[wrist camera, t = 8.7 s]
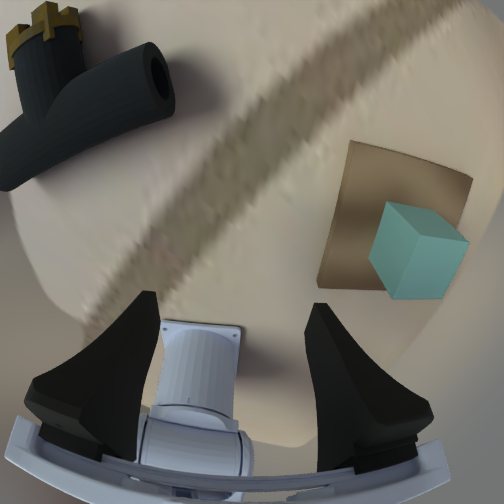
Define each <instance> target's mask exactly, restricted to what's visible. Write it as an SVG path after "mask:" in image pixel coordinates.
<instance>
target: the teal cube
mask: <svg viewBox="0 0 504 504" xmlns="http://www.w3.org/2000/svg"><path fill="white" fill-rule="evenodd" d="M469 243H470V242H469V241H467V240H466V239H465V238H464V237H463V236H462V235H461V234H460V233H459V232H458V231H457V230H456V229H455V228H454V227H453V226H451V225H450V224H449V223H448V222H447V221H446V220H445V219H444V218H442V217H441V216H440V215H439V214H438V213H437V212H435V211H433V210H428V209H424V208H419V207H414V206H409V205H404V204H398V203H393V202H386V205H385V208H384V212H383V215H382V218H381V222H380V225H379V228H378V231H377V234H376V237H375V240H374V243H373V246H372V249H371V252H370V255H369V257H368V259H369V260H370V262H371V264H372V265H373V267H374V269H375V270H376V272H377V274H378V276H379V277H380V279H381V281H382V282H383V284H384V286H385V288H386V290H387V291H388V293H389V295H390V297H391V299H442V297H443V296H444V294H445V292H446V290H447V288H448V286H449V285H450V283H451V281H452V279H453V277H454V275H455V273H456V271H457V269H458V267H459V265H460V263H461V261H462V259H463V256H464V254H465V252H466V250H467V248H468V245H469Z"/></svg>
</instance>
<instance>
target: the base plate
mask: <svg viewBox="0 0 504 504" xmlns="http://www.w3.org/2000/svg"><path fill="white" fill-rule="evenodd" d="M472 181H473V178H471V177H470V176H468V175H466V174H464V173H461V172H458V171H456V170H453V169H450V168H447V167H445V166H442V165H439V164H436V163H433V162H430V161H427V160H424V159H420V158H417V157H414V156H410V155H407V154H404V153H400V152H396V151H393V150H389V149H385V148H381V147H377V146H373V145H369V144H365V143H360V142H356V141H351V140H350V144H349V149H348V154H347V159H346V164H345V169H344V174H343V178H342V183H341V187H340V192H339V196H338V201H337V205H336V209H335V213H334V217H333V221H332V225H331V229H330V233H329V237H328V241H327V245H326V248H325V252H324V256H323V259H322V263H321V267H320V270H319V274H318V277H317V280H316V281H317V284H318V287H319V288H328V289H355V290H386V288H385V286H384V284H383V282H382V281H381V279H380V277H379V276H378V274H377V272H376V270H375V269H374V267H373V265H372V264H371V262H370V260H369V259H368V257H369V255H370V252H371V249H372V246H373V243H374V240H375V237H376V234H377V231H378V228H379V225H380V222H381V218H382V215H383V212H384V208H385V205H386V202H393V203H398V204H404V205H409V206H414V207H419V208H424V209H428V210H433V211H435V212H437V213H438V214H439V215H440V216H441V217H442V218H444V219H445V220H446V221H447V222H448V223H449V224H450V225H451V226H453V227H454V228H455V229H456V228H457V225H458V223H459V220H460V217H461V214H462V212H463V209H464V206H465V203H466V200H467V197H468V194H469V191H470V188H471V184H472Z"/></svg>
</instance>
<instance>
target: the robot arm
mask: <svg viewBox="0 0 504 504" xmlns="http://www.w3.org/2000/svg"><path fill="white" fill-rule="evenodd" d="M160 328H161V333H162V338H163V342H164V347H165V357H164V361H163V365H162V370H161V374H160V379H159V383H158V388H157V392H156V397H155V402H154V405H151V409H150V414H149V415H148V414H146V413H141V414H140V407H141V400H142V394H143V388H144V384H145V380H146V376H147V373H148V370H149V367H150V363H151V360H152V357H153V354H154V351H155V347H156V344H157V341H158V336H159V330H160ZM235 334H237V335H235ZM304 334H305V346H306V354H307V359H308V363H309V368H310V373H311V377H312V382H313V387H314V392H315V398H316V410H317V426H318V461H317V473H308V474H298V475H285V476H257V477H256V476H254V477H253V476H252V474H253V467H254V449H253V444H252V441H251V439H250V438H249V437H248V435H247V434H246V432H245V431H242V430H238V420H233V400H234V379H235V378H236V374H237V365H238V356H239V346H240V337H241V329H240V328H239V327H235V326H221V325H208V324H197V323H187V322H177V321H168V320H162V321H161V320H160V315H159V309H158V303H157V297H156V292H153V291H144V290H143V291H142V292H141V293H140V294H139V295H138V296H137V297H136V299H135V300H134V301H133V302H132V303H131V304H130V305H129V306H128V307H127V309H126V310H125V311H124V312H123V313H122V314H121V315H120V316H119V317H118V318H117V319H116V320H115V321H114V322H113V323H112V324H111V325H110V326H109V327H108V328H107V329H106V330H105V331H104V332H103V333H102V334H101V335H100V336H99V337H98V338H97V339H96V340H94V341H93V342H92V343H91V344H90V345H88V346H87V347H86V348H85V349H83V350H82V351H80V352H79V353H78V354H76V355H75V356H74V357H72V358H71V359H69V360H68V361H66V362H64V363H63V364H61V365H59V366H57V367H56V368H54V369H52V370H50V371H48V372H46V373H44V374H42V375H39V376H37V377H35V378H34V379H33V380H32V383H31V385H30V387H29V389H28V392H27V394H26V396H25V399H24V404H25V406H26V407H27V408H28V409H29V410H30V411H31V412H32V413H33V414H34V415H35V416H36V417H37V418H39V419H40V420H41V421H42V425H41V427H40V426H39V425H37V424H35V423H33V422H32V421H30V420H28V419H26V418H24V417H22V416H20V415H18V416H17V418H16V421H15V424H14V427H13V430H12V432H11V435H10V439H9V442H8V445H7V448H6V452H5V455H4V456H5V458H6V459H8V460H9V461H11V462H12V463H14V464H15V465H17V466H18V467H20V468H22V469H24V470H25V471H27V472H28V473H30V474H32V475H33V476H35V477H37V478H38V479H40V480H42V481H44V482H46V483H48V484H50V485H51V486H53V487H55V488H57V489H59V490H61V491H63V492H65V493H67V494H70V495H72V496H74V497H76V498H78V499H81V500H83V501H85V502H88V503H90V504H400V503H402V502H405V501H407V500H410V499H412V498H414V497H417V496H419V495H421V494H423V493H425V492H428V491H430V490H432V489H434V488H436V487H438V486H440V485H442V484H444V483H446V482H448V481H450V480H451V475H450V471H449V468H448V464H447V460H446V457H445V453H444V450H443V447H442V443H441V440H440V439H439V438H438V439H435V440H433V441H430V442H427V443H425V444H422V445H420V446H418V447H416V445H415V442H417V441H418V437H417V433H419V432H420V431H421V430H423V429H424V428H425V427H427V426H428V425H429V424H430V423H431V422H432V421H433V419H434V415H433V413H432V410H431V407H430V404H429V402H428V401H427V400H426V399H424V398H422V397H420V396H418V395H417V394H415V393H413V392H412V391H410V390H409V389H407V388H405V387H404V386H403V385H401V384H400V383H399V382H397V381H396V380H395V379H393V378H392V377H391V376H390V375H388V374H387V373H386V372H385V371H384V370H383V369H381V368H380V367H379V366H378V365H377V364H376V363H375V362H374V361H373V360H372V359H371V358H370V357H369V356H368V355H367V354H366V353H365V352H364V351H363V349H362V348H361V347H360V346H359V345H358V344H357V343H356V341H355V340H354V339H353V338H352V336H351V335H350V334H349V333H348V331H347V330H346V329H345V327H344V326H343V325H342V323H341V322H340V321H339V319H338V318H337V317H336V315H335V314H334V312H333V311H332V310H331V308H330V307H329V306H328V304H327V303H314V305H313V308H312V311H311V314H310V317H309V320H308V323H307V326H306V329H305V332H304ZM318 487H323V488H319V489H313V490H307V491H301V492H297V493H296V495H293V496H289V497H287V498H286V499H287V501H279V502H243V499H244V495H245V492H276V491H290V490H302V489H310V488H318Z"/></svg>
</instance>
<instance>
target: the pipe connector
mask: <svg viewBox="0 0 504 504" xmlns="http://www.w3.org/2000/svg"><path fill="white" fill-rule="evenodd" d="M31 14H32V26H30V25H28V24H17V25H16V26H15V27H14V28H13V29H12V30H11V31H10V32H9V33H8V34H7V35H6V43H7V53H8V61H9V68H10V70H15V76H16V82H17V87H18V92H19V97H20V101H21V105H22V109H23V114H21V115H20V116H19V117H18V118H17V119H15V120H14V121H13V122H12V123H11V124H9V125H8V126H7V127H6V128H5V129H4V130H2V131H1V132H0V191H5V192H8V191H12V190H13V189H15V188H17V187H18V186H20V185H22V184H23V183H25V182H26V181H28V180H30V179H31V178H33V177H35V176H36V175H38V174H40V173H42V172H43V171H45V170H47V169H49V168H51V167H52V166H54V165H56V164H58V163H60V162H62V161H64V160H66V159H68V158H70V157H72V156H74V155H76V154H78V153H80V152H82V151H84V150H86V149H88V148H90V147H92V146H95V145H97V144H99V143H101V142H104V141H106V140H108V139H111V138H113V137H116V136H118V135H121V134H123V133H126V132H128V131H131V130H133V129H136V128H139V127H141V126H144V125H147V124H150V123H153V122H156V121H159V120H162V119H165V118H168V117H171V116H172V115H173V113H174V110H175V94H174V90H173V86H172V82H171V78H170V74H169V70H168V66H167V64H166V61H165V59H164V57H163V55H162V53H161V51H160V50H159V49H158V47H157V46H156V45H155V44H154V43H152V42H147V43H145V44H142V45H140V46H137V47H135V48H133V49H130V50H128V51H126V52H124V53H121V54H119V55H117V56H115V57H113V58H111V59H109V60H107V61H105V62H103V63H101V64H99V65H97V66H95V67H93V68H91V69H89V70H88V71H86V70H85V65H84V61H83V56H82V51H81V46H80V42H82V41H83V39H82V33H81V27H80V21H79V15H78V9H77V8H73V7H69V6H68V7H66V8H65V9H63V10H62V11H60V12H58V3H53V2H49V1H45V2H44V3H43V4H41V5H40V6H39V7H38V8H36V9H35V10H34V11H33V12H31Z"/></svg>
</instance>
